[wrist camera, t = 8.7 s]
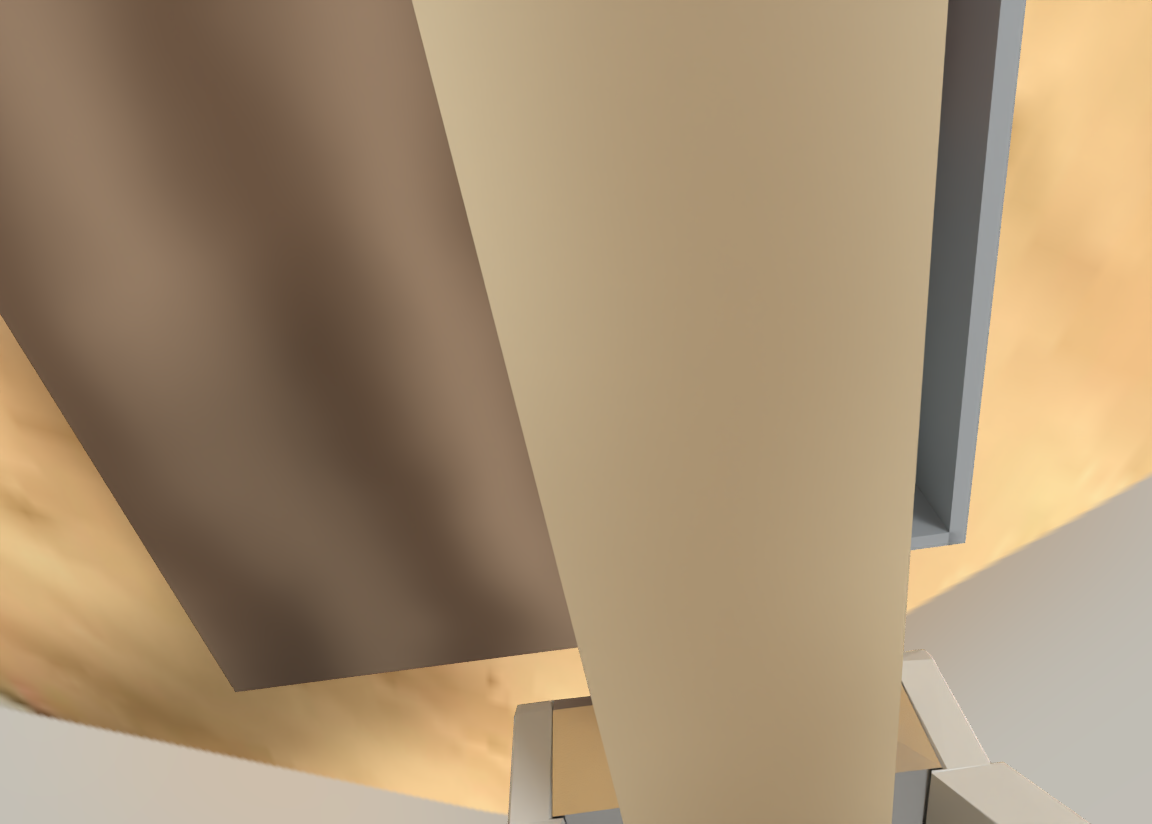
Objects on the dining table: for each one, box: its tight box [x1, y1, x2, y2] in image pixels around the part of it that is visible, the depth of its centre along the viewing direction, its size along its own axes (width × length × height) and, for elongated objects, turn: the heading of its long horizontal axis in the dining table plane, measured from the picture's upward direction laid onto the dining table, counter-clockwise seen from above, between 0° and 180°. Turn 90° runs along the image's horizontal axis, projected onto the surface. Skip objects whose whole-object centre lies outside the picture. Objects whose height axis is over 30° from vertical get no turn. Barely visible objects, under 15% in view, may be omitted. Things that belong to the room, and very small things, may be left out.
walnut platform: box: [0, 0, 578, 692], centre depth 23 cm, size 16×22×6 cm
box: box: [911, 0, 1026, 550], centre depth 23 cm, size 11×22×4 cm, turn 10°
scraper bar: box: [412, 0, 948, 824], centre depth 9 cm, size 2×20×4 cm, turn 10°
